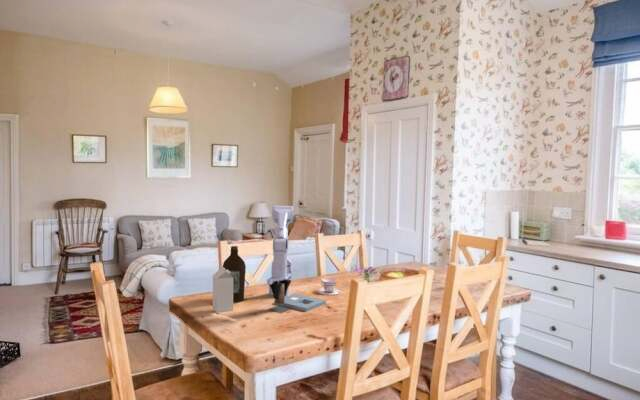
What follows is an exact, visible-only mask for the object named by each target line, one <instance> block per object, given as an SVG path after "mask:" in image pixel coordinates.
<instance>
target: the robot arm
mask: <svg viewBox="0 0 640 400" xmlns="http://www.w3.org/2000/svg"><path fill="white" fill-rule="evenodd" d="M271 214H272V216H271V217H272V220H273V223H275V224H277V226H276V227H275V229H274V238H273V240H272V255H273V261H272V263H271V277H270V278H267V279H266V284H267V285H268V295H272V296H273V299H274V300H275V299H279V292H280V287H281V285H282V284H279V283H284V284H285V292H284V297H286V296H289V295H291V294H290V284H291V282H292V280H291V279H293V262H292V260H291V259H289V258H288V252H289V236H288V234H289V230H288V227H289V224H292V223H293V220H294V206H293V205H272V213H271Z"/></svg>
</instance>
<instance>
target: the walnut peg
mask: <svg viewBox="0 0 640 400" xmlns="http://www.w3.org/2000/svg"><path fill="white" fill-rule="evenodd" d="M279 284H282V285H281V287H280V292H279V299H274V300H275V303H278V304H281V303H284V292H285V284H284V283H279Z"/></svg>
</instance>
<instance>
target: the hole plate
mask: <svg viewBox="0 0 640 400" xmlns="http://www.w3.org/2000/svg"><path fill="white" fill-rule="evenodd" d="M273 304H274V305H276V306H278V305H279V306H283V307H287V308H291V309H292V310H293V309H294V310H297V311H300V312H301V311H302V312H306V313H307V312H309V311H311V310H314V309H317V308H319V307H321V306H324V305H327V299H322V298H317V297H313V296H309V295H304V294H300V293H293V294H292V293H291V294H290V295H288V296H285V297H284V303H281V304H278V303H275V299H274V300H273Z"/></svg>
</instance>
